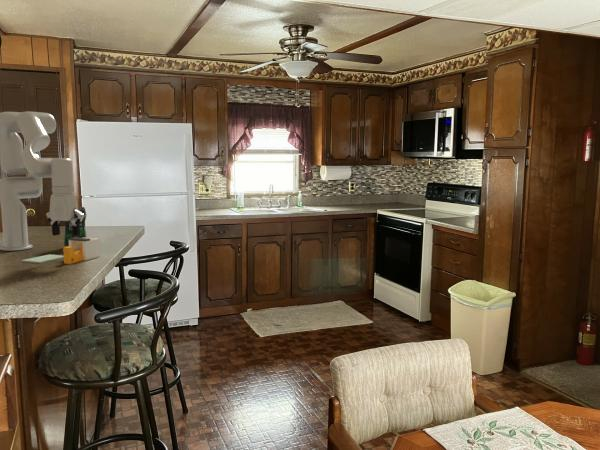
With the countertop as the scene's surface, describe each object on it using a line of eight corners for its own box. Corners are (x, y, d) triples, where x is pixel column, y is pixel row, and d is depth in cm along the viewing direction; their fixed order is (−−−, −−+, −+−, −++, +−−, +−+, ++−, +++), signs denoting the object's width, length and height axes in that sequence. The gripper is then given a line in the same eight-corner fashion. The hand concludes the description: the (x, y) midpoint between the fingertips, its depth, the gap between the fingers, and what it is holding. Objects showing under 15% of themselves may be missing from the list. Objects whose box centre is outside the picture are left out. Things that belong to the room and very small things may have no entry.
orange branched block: (81, 257, 203) (80, 242, 202) (90, 258, 202) (89, 242, 201) (60, 263, 191) (59, 247, 191) (69, 264, 190) (69, 247, 190)
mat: (22, 261, 194) (22, 260, 194) (49, 255, 206) (49, 254, 206) (40, 263, 191) (40, 261, 191) (66, 257, 203) (66, 255, 203)
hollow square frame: (69, 258, 200) (68, 238, 199) (84, 255, 207) (83, 235, 206) (85, 260, 197) (84, 239, 196) (100, 256, 205) (99, 236, 204)
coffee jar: (63, 249, 220) (61, 207, 218) (65, 246, 228) (63, 206, 225) (87, 248, 224) (85, 207, 221) (88, 245, 231) (86, 205, 229)
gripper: (37, 191, 189) (40, 236, 191) (73, 191, 183) (76, 237, 185) (53, 190, 196) (56, 233, 198) (88, 190, 190) (91, 235, 192)
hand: (66, 235), depth 192 cm, fingers open, 9 cm apart
